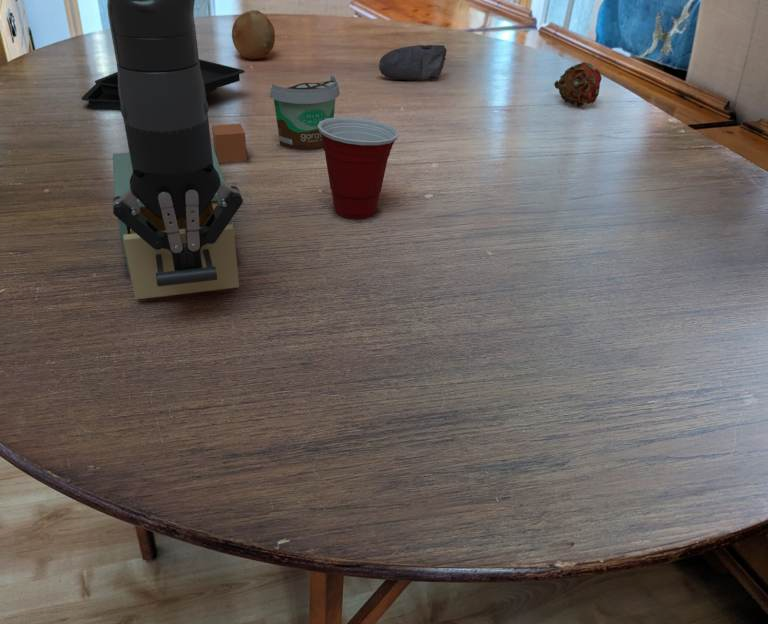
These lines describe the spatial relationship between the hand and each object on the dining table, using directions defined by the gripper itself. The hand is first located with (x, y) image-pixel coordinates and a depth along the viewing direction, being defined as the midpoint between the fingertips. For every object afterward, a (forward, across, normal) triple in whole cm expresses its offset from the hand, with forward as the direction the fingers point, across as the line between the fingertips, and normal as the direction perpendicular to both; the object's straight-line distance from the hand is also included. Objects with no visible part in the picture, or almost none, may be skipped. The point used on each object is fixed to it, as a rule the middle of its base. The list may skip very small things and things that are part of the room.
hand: (189, 279), depth 77 cm
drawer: (+4, 0, -8) cm, 8 cm away
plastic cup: (+5, -25, -22) cm, 33 cm away
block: (+4, -10, -46) cm, 48 cm away
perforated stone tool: (+5, -55, -84) cm, 101 cm away
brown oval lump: (+5, -25, -107) cm, 110 cm away
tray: (+5, -3, -81) cm, 81 cm away
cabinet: (+4, 0, -18) cm, 19 cm away
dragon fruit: (+5, -83, -62) cm, 104 cm away
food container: (+5, -25, -49) cm, 55 cm away
